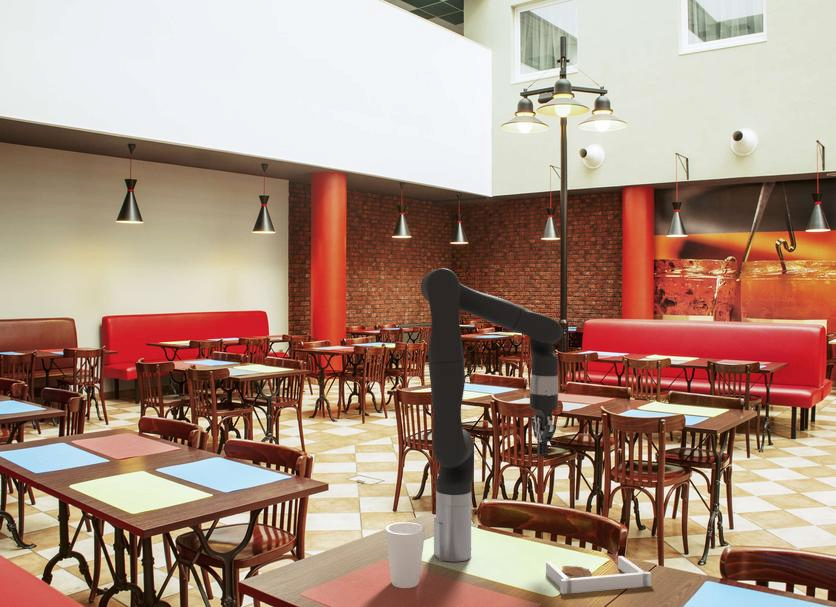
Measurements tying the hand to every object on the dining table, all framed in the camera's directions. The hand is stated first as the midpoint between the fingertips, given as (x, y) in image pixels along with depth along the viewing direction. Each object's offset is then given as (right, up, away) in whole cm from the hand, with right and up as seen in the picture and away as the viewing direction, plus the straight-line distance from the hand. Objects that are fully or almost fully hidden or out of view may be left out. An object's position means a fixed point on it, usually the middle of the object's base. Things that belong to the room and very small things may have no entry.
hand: (542, 455), depth 200 cm
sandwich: (+6, -26, -21) cm, 34 cm away
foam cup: (-37, -25, -24) cm, 51 cm away
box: (+9, -25, -22) cm, 35 cm away
